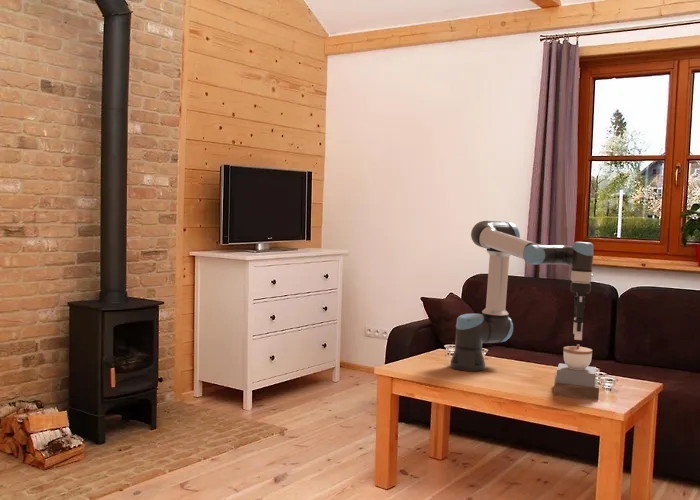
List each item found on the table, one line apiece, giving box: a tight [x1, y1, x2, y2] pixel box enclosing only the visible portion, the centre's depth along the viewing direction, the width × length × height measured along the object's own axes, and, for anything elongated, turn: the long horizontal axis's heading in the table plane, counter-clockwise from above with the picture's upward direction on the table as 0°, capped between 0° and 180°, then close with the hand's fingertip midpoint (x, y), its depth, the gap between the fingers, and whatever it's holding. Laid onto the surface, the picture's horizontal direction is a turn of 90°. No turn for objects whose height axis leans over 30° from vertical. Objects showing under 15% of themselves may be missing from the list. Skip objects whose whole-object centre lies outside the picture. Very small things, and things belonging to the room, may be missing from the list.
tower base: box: [553, 374, 600, 401], centre depth 286 cm, size 16×16×5 cm
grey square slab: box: [556, 362, 597, 387], centre depth 286 cm, size 14×14×5 cm
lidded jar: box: [562, 344, 593, 370], centre depth 285 cm, size 11×11×9 cm
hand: (577, 336), depth 286 cm, fingers open, 13 cm apart
